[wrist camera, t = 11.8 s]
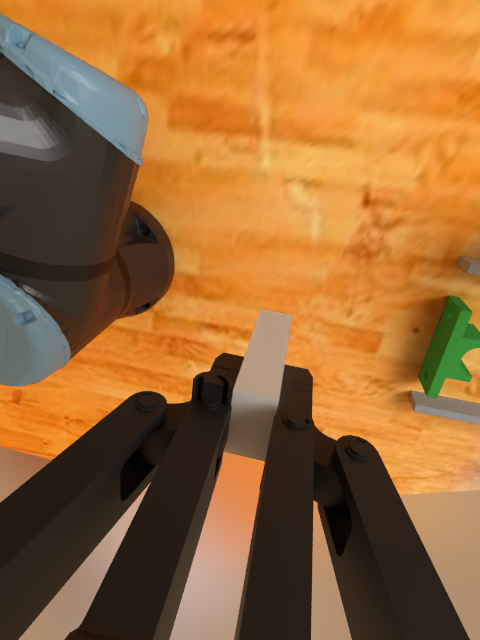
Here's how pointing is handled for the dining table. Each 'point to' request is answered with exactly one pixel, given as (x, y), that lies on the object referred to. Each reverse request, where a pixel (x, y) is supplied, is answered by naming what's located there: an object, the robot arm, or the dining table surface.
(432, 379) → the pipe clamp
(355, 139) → the dining table surface
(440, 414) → the grey bent bar frame
